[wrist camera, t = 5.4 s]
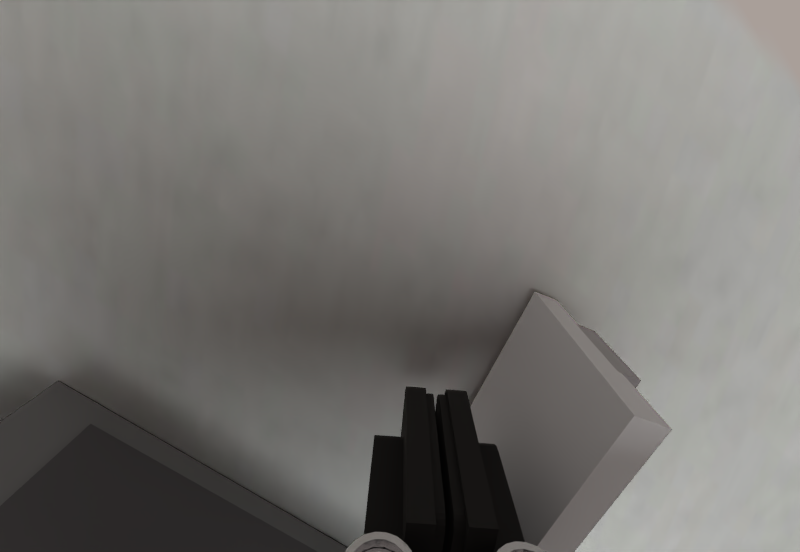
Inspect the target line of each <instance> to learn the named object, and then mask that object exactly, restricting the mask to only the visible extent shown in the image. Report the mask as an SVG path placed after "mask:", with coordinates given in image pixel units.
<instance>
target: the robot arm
mask: <svg viewBox="0 0 800 552" xmlns="http://www.w3.org/2000/svg"><path fill="white" fill-rule="evenodd" d="M345 552H546V551H544V550H543V549H541V548H540V547H538V546H536V545H533V544H530V543H527V542H525V540H524V537H523V533H522V530H521V527H520V523H519V520H518V516H517V513H516V509H515V506H514V503H513V499H512V496H511V492H510V489H509V485H508V482H507V479H506V475H505V472H504V468H503V465H502V461H501V458H500V455H499V451H498V449H497V446H496V445H495V444H489V443H479V442H478V438H477V433H476V429H475V425H474V421H473V416H472V412H471V408H470V404H469V399H468V395H467V392H466V391H458V390H446V391H445V395H438V397H437V404H436V411H435V406H434V396H433V394H426V388H418V387H406V389H405V399H404V409H403V420H402V430H401V437H393V436H379V435H375V436H374V445H373V454H372V464H371V473H370V483H369V492H368V502H367V511H366V520H365V530H364V535H362V536H361V537H359V538H357V539H356V540H354V541H353V542H352V543H351V545H350V546H349V547H348V548H347V549H346V551H345Z"/></svg>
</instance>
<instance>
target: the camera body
mask: <svg viewBox="0 0 800 552" xmlns="http://www.w3.org/2000/svg"><path fill="white" fill-rule="evenodd" d="M346 549H347V547H345V546H343V545H342V544H340V543H338V542H336V541H335V540H333V539H331V538H330V537H328V536H326V535H324V534H323V533H321V532H319V531H317V530H316V529H314V528H312V527H310V526H309V525H307V524H305V523H304V522H302V521H300V520H298V519H297V518H295V517H293V516H291V515H290V514H288V513H286V512H284V511H283V510H281V509H279V508H278V507H276V506H274V505H272V504H271V503H269V502H267V501H265V500H264V499H262V498H260V497H258V496H257V495H255V494H253V493H252V492H250V491H248V490H246V489H245V488H243V487H241V486H239V485H238V484H236V483H234V482H233V481H231V480H229V479H227V478H226V477H224V476H222V475H220V474H219V473H217V472H215V471H213V470H212V469H210V468H208V467H207V466H205V465H203V464H201V463H200V462H198V461H196V460H194V459H193V458H191V457H189V456H187V455H186V454H184V453H182V452H181V451H179V450H177V449H175V448H174V447H172V446H170V445H168V444H167V443H165V442H163V441H161V440H160V439H158V438H156V437H155V436H153V435H151V434H149V433H148V432H146V431H144V430H142V429H141V428H139V427H137V426H135V425H134V424H132V423H130V422H129V421H127V420H125V419H123V418H122V417H120V416H118V415H116V414H115V413H113V412H111V411H109V410H108V409H106V408H104V407H103V406H101V405H99V404H97V403H96V402H94V401H92V400H90V399H89V398H87V397H85V396H84V395H82V394H80V393H78V392H77V391H75V390H73V389H71V388H70V387H68V386H66V385H64V384H63V383H61V382H59V381H58V382H56V383H55V384H53V385H52V386H51V387H49V388H48V389H46V390H45V391H43V392H42V393H41V394H39V395H38V396H36V397H35V398H34V399H32V400H31V401H29V402H28V403H26V404H25V405H24V406H22V407H21V408H19V409H18V410H17V411H15V412H14V413H12V414H11V415H9V416H8V417H7V418H5V419H4V420H2V421H1V422H0V552H345V551H346Z"/></svg>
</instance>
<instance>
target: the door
mask: <svg viewBox="0 0 800 552" xmlns="http://www.w3.org/2000/svg"><path fill="white" fill-rule="evenodd" d="M640 381H641V380H640V379H639V378H638V377H637V376H636V375H635V374H634V373H633V372H632V370H631V369H630V368H629V367H628V366H627V365H626V364H625V363H624V362H623V361H622V360H621V359H620V358H619V357H618V356H617V355H616V353H615V352H614V351H613V350H612V349H611V348H610V347H609V346H608V345H607V344H606V343H605V342H604V341H603V340H602V339H601V338H600V337H599V335H598V334H597V333H596V332H595V331H593V330H590V329H588V328H585V327H583V326H580V325H578V323H577V322H576V321H575V320H574V319H573V318H572V317H571V316H570V314H569V313H568V312H567V311H566V310H565V309H564V308H563V307H562V305H561V304H560V303H559V302H558V301H557V300H555V299H553V298H550V297H548V296H545V295H543V294H540V293H538V292H534V294H533V296H532V298H531V299H530V301H529V303H528V305H527V306H526V308H525V310H524V312H523V314H522V315H521V317H520V319H519V321H518V322H517V324H516V326H515V328H514V330H513V331H512V333H511V335H510V337H509V339H508V340H507V342H506V344H505V346H504V347H503V349H502V351H501V353H500V355H499V356H498V358H497V360H496V362H495V363H494V365H493V367H492V369H491V371H490V372H489V374H488V376H487V378H486V379H485V381H484V383H483V385H482V387H481V388H480V390H479V392H478V394H477V396H476V397H475V399H474V401H473V403H472V404H471V406H470V408H471V412H472V416H473V421H474V425H475V429H476V433H477V438H478V442H479V443H489V444H495V445H496V446H497V449H498V451H499V455H500V458H501V461H502V465H503V468H504V472H505V475H506V479H507V482H508V485H509V489H510V492H511V496H512V499H513V503H514V506H515V509H516V513H517V516H518V520H519V523H520V527H521V530H522V533H523V537H524V540H525V542H527V543H530V544H533V545H536V546H538V547H540V548H541V549H543V550H544V551H546V552H574V551H575V550H576V549H577V548H578V546H579V545H580V544H581V543H582V541H583V540H584V539H585V538H586V536H587V535H588V534H589V533H590V531H591V530H592V529H593V528H594V526H595V525H596V524H597V523H598V521H599V520H600V519H601V518H602V516H603V515H604V514H605V513H606V511H607V510H608V509H609V508H610V506H611V505H612V504H613V503H614V501H615V500H616V499H617V498H618V496H619V495H620V494H621V493H622V491H623V490H624V489H625V488H626V486H627V485H628V484H629V483H630V481H631V480H632V479H633V478H634V476H635V475H636V474H637V472H638V471H639V470H640V469H641V467H642V466H643V465H644V464H645V462H646V461H647V460H648V459H649V457H650V456H651V455H652V454H653V452H654V451H655V450H656V449H657V447H658V446H659V445H660V444H661V442H662V441H663V440H664V439H665V437H666V436H667V435H668V434H669V432H670V431H671V430H672V429H671V428H670V427H669V425H668V424H667V423H666V422H665V421H664V420H663V419H662V418H661V416H660V415H659V414H658V413H657V412H656V411H655V410H654V409H653V408H652V406H651V405H650V404H649V403H648V402H647V401H646V400H645V399H644V397H643V396H642V395H641V394H640V393H639V392H638V391H637V390H636V387H637V385H638V384H639V383H640Z"/></svg>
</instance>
